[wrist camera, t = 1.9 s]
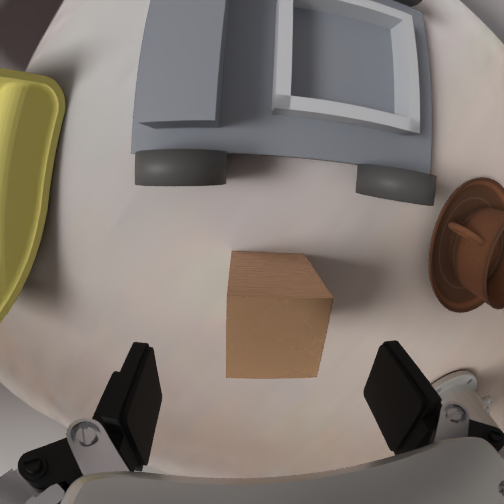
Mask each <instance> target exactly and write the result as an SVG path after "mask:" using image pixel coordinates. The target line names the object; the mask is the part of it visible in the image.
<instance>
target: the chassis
mask: <svg viewBox="0 0 504 504" xmlns="http://www.w3.org/2000/svg"><path fill="white" fill-rule="evenodd" d="M421 1H422V0H151V1H150V5H149V10H148V14H147V19H146V24H145V29H144V35H143V40H142V46H141V52H140V59H139V66H138V73H137V82H136V90H135V100H134V112H133V125H132V143H131V154H135V185H142V186H208V185H223V184H226V173H227V154H250V155H267V156H282V157H294V158H305V159H315V160H324V161H332V162H340V163H348V164H355V165H358V170H357V182H356V193H359V194H363V195H368V196H373V197H378V198H384V199H389V200H395V201H401V202H407V203H413V204H420V205H428V206H433V205H434V197H435V187H436V177H437V176H434V175H431V174H430V163H431V143H432V98H431V79H430V66H429V56H428V47H427V40H426V33H425V27H424V21H423V15H422V12H421V11H418V10H416V9H414V8H411V7H412V6H415V5H417V4H419V3H420V2H421Z"/></svg>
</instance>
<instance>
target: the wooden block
mask: <svg viewBox="0 0 504 504" xmlns="http://www.w3.org/2000/svg"><path fill="white" fill-rule="evenodd" d="M332 302H333V297H332V295H331V294H330V292H329V291H328V289H327V287H326V286H325V284H324V283H323V281H322V280H321V278H320V277H319V275H318V274H317V272H316V271H315V269H314V268H313V266H312V265H311V263H310V262H309V260H308V259H307V257H306V256H305V254H293V253H268V252H243V251H232V253H231V262H230V271H229V280H228V290H227V319H226V378H255V379H276V378H310V377H317V374H318V370H319V365H320V361H321V357H322V352H323V348H324V343H325V338H326V333H327V328H328V323H329V318H330V313H331V308H332Z"/></svg>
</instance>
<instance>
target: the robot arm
mask: <svg viewBox="0 0 504 504" xmlns="http://www.w3.org/2000/svg"><path fill="white" fill-rule="evenodd" d="M476 389H477V380H476V378H475V376H474V375H473V374H472V373H470V372H469V371H457V372H454V373H451V374H449V375H446V376H444V377H442V378H441V379H439V380H437V381H436V382H434V383H433V384H430V382H429V381H428V380H427V378H426V377H425V376H424V374H423V373H422V372H421V370H420V369H419V368H418V366H417V365H416V364H415V363H414V361H413V360H412V359H411V357H410V356H409V355H408V354H407V352H406V351H405V350H404V348H403V347H402V346H401V345H400V343H399V342H398V341H396V340H395V341H386V342H384V343H383V344H382V345H381V346H380V347H379V349H378V352H377V355H376V358H375V361H374V364H373V367H372V369H371V372H370V375H369V378H368V380H367V383H366V385H365V388H364V397H365V399H366V401H367V403H368V405H369V407H370V409H371V411H372V413H373V415H374V417H375V419H376V422H377V424H378V426H379V428H380V430H381V432H382V434H383V436H384V438H385V440H386V442H387V445H388V447H389V449H390V450H391V451H394V453H395V456H392V457H388V458H385V459H381V460H377V461H373V462H369V463H365V464H360V465H356V466H351V467H346V468H341V469H336V470H330V471H324V472H317V473H310V474H302V475H292V476H281V477H266V478H203V477H186V476H175V475H164V474H155V473H145V472H134V470H136V471H142V468H143V465H146V466H147V464H148V461H149V456H150V451H151V447H152V442H153V437H154V433H155V428H156V424H157V419H158V415H159V411H160V406H161V402H162V392H161V387H160V382H159V377H158V372H157V366H156V360H155V355H154V349H153V347H149V344H148V343H139V342H134V343H133V345H132V347H131V349H130V351H129V353H128V355H127V358H126V360H125V362H124V364H123V366H122V368H121V371H120V372H117V371H115V372H113V374H112V376H111V378H110V380H109V382H108V384H107V386H106V389H105V391H104V393H103V395H102V397H101V400H100V402H99V404H98V406H97V409H96V411H95V413H94V416H93V418H92V419H90V418H82V419H78V420H76V421H74V422H73V423H71V424H70V425H69V427H68V429H67V433H66V436H67V438H64V439H62V440H59V441H56V442H54V443H51V444H48V445H46V446H43V447H40V448H37V449H35V450H32V451H29V452H27V453H25V454H23V455H22V456H21V457H20V459H19V461H18V469H16V470H15V471H14V470H13V469H11V470H9V471H8V472H7V473H5V474H4V475H2V476H1V477H0V504H504V433H503V432H502V431H501V429H500V428H499V427H498V425H497V424H496V423H495V421H494V420H493V419H492V417H491V416H490V415H489V412H490V408H489V406H488V405H489V404H491V402H492V398H491V396H490V395H489V396H486V397H483V398H482V399H481V398H480V397H479V395H478V394H477V393H476Z"/></svg>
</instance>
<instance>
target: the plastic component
mask: <svg viewBox="0 0 504 504" xmlns="http://www.w3.org/2000/svg"><path fill="white" fill-rule="evenodd" d="M64 114H65V97H64V93H63V91H62V89H61V87H60V86H59V85H58V84H57V83H56V82H55V80H53V79H51V78H49V77H48V76H43V75H38V74H33V73H27V72H22V71H16V70H9V69H3V68H0V322H1V321H2V320H3V318H4V317H5V316H6V314H7V313H8V312H9V310H10V308H11V307H12V305H13V304H14V302H15V300H16V299H17V297H18V295H19V293H20V291H21V290H22V288H23V285H24V283H25V281H26V279H27V277H28V275H29V273H30V270H31V268H32V265H33V263H34V260H35V258H36V254H37V251H38V248H39V244H40V241H41V237H42V233H43V229H44V224H45V219H46V214H47V210H48V200H49V191H50V184H51V177H52V170H53V164H54V158H55V153H56V148H57V143H58V138H59V134H60V130H61V125H62V121H63V117H64Z"/></svg>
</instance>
